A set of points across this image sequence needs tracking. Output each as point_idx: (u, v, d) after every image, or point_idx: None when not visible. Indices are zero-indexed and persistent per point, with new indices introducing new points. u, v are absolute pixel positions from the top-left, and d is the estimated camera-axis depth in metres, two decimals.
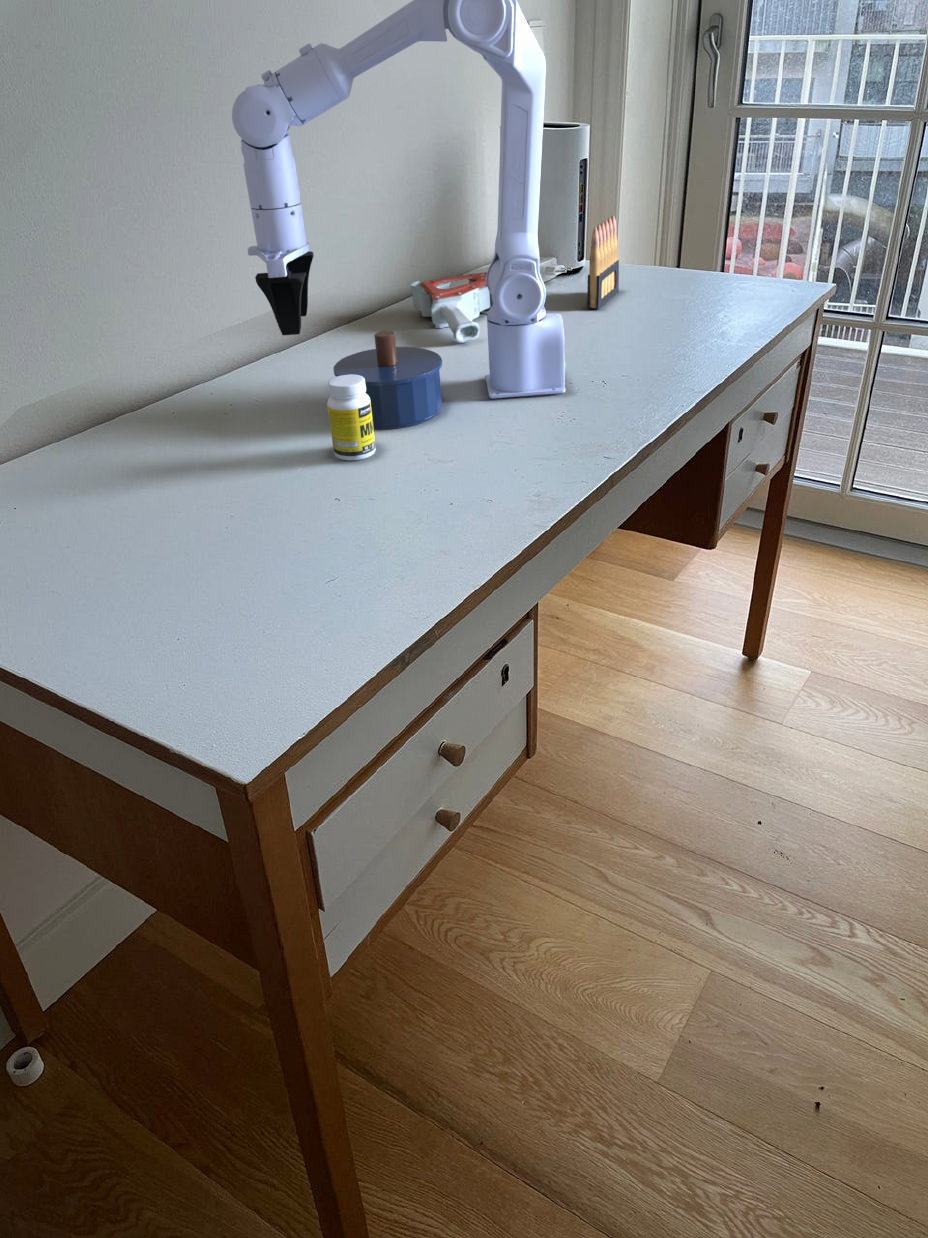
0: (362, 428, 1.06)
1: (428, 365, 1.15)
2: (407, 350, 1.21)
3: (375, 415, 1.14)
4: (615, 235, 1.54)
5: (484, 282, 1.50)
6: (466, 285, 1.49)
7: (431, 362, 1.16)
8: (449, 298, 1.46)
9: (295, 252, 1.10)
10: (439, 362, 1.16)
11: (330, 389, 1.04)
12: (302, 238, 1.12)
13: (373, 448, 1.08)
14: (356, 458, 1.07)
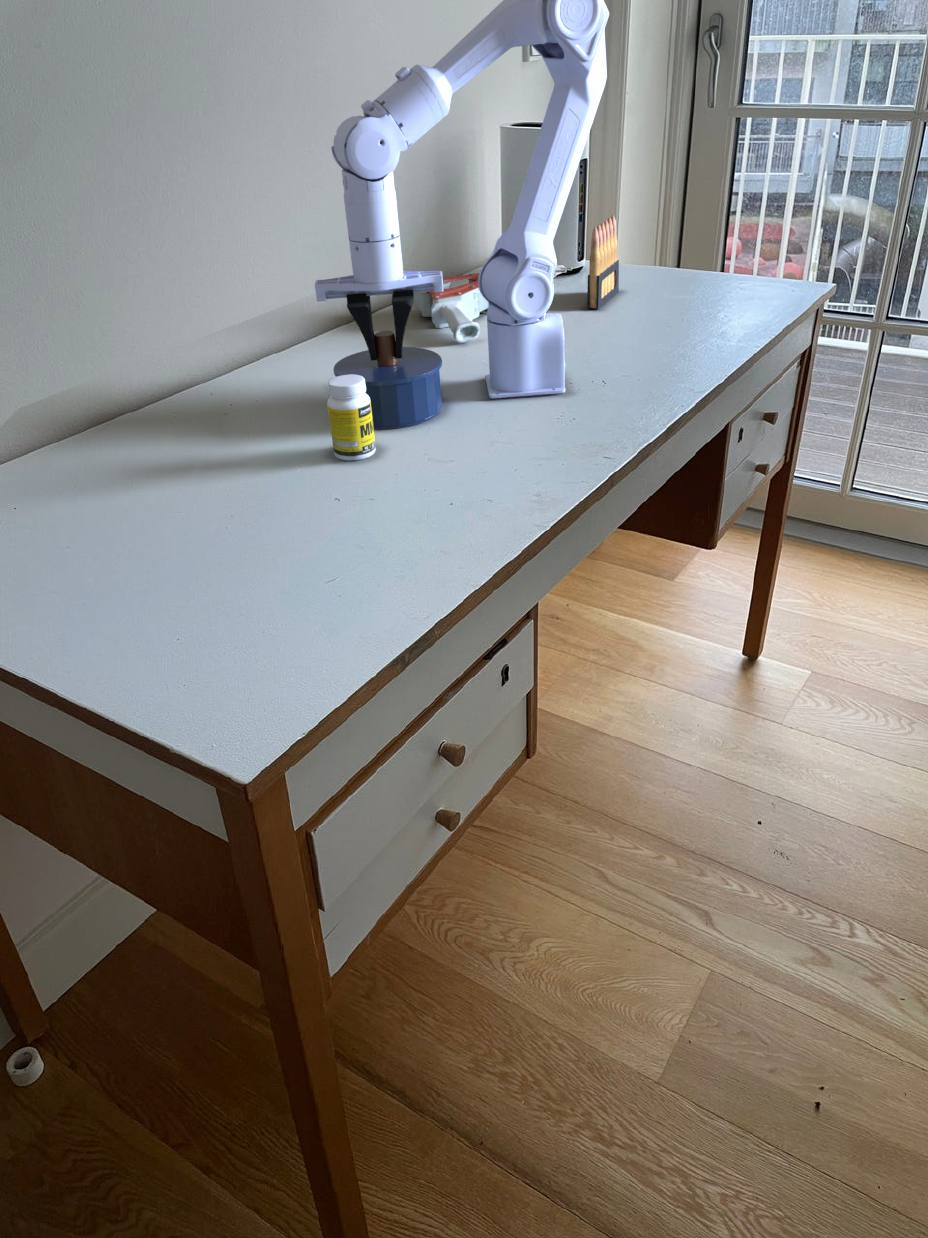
0: (362, 428, 1.06)
1: (428, 365, 1.15)
2: (407, 350, 1.21)
3: (375, 415, 1.14)
4: (615, 235, 1.54)
5: None
6: (466, 285, 1.49)
7: (431, 362, 1.16)
8: (449, 298, 1.46)
9: (345, 285, 1.10)
10: (439, 362, 1.16)
11: (330, 389, 1.04)
12: (366, 275, 1.09)
13: (373, 448, 1.08)
14: (356, 458, 1.07)
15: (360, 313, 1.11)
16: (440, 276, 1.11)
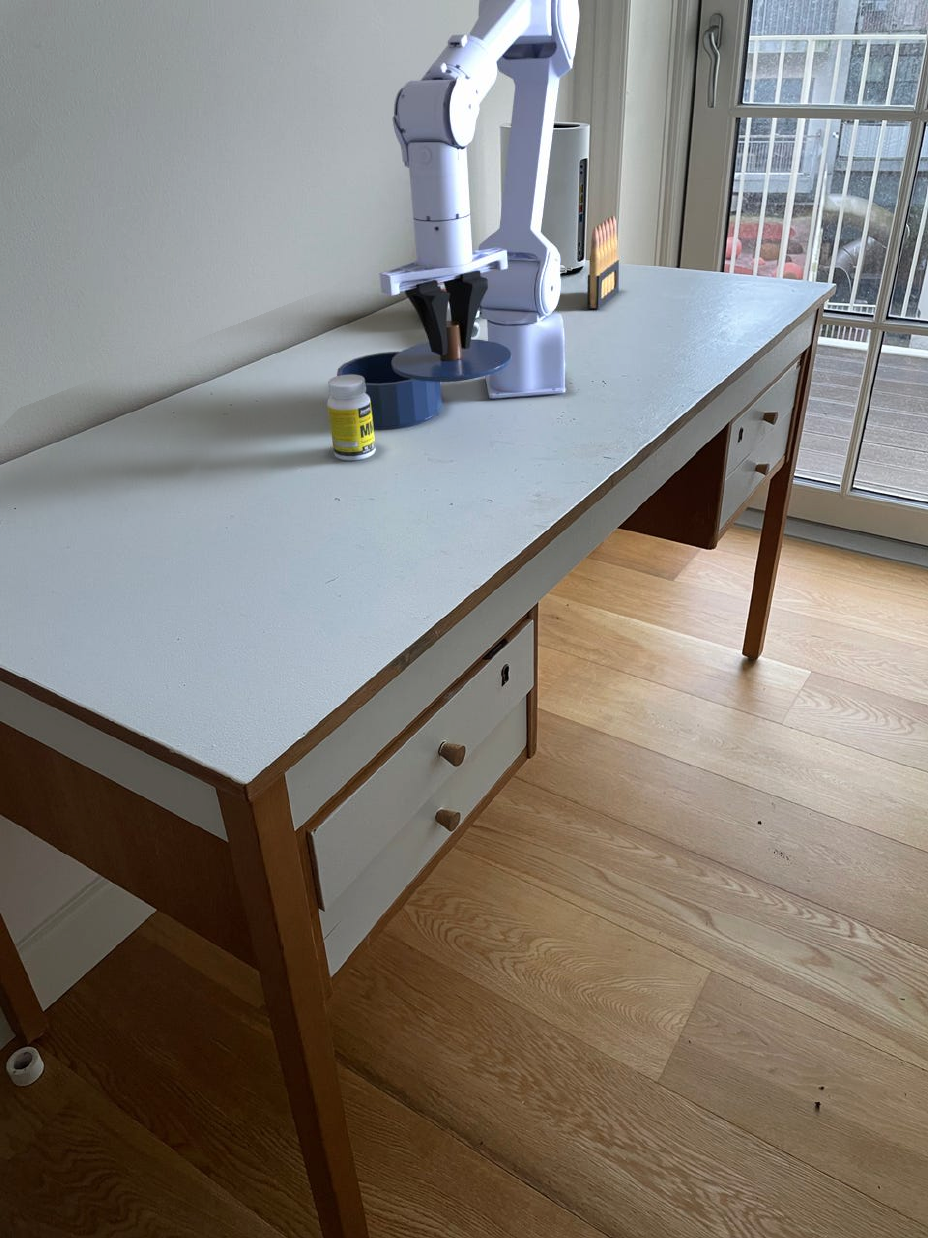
0: (362, 428, 1.06)
1: (497, 350, 1.07)
2: None
3: (375, 415, 1.14)
4: (615, 235, 1.54)
5: None
6: None
7: (495, 348, 1.07)
8: None
9: (424, 272, 0.97)
10: (503, 346, 1.08)
11: (330, 389, 1.04)
12: (448, 258, 0.98)
13: (373, 448, 1.08)
14: (356, 458, 1.07)
15: (440, 302, 0.99)
16: (505, 252, 1.03)
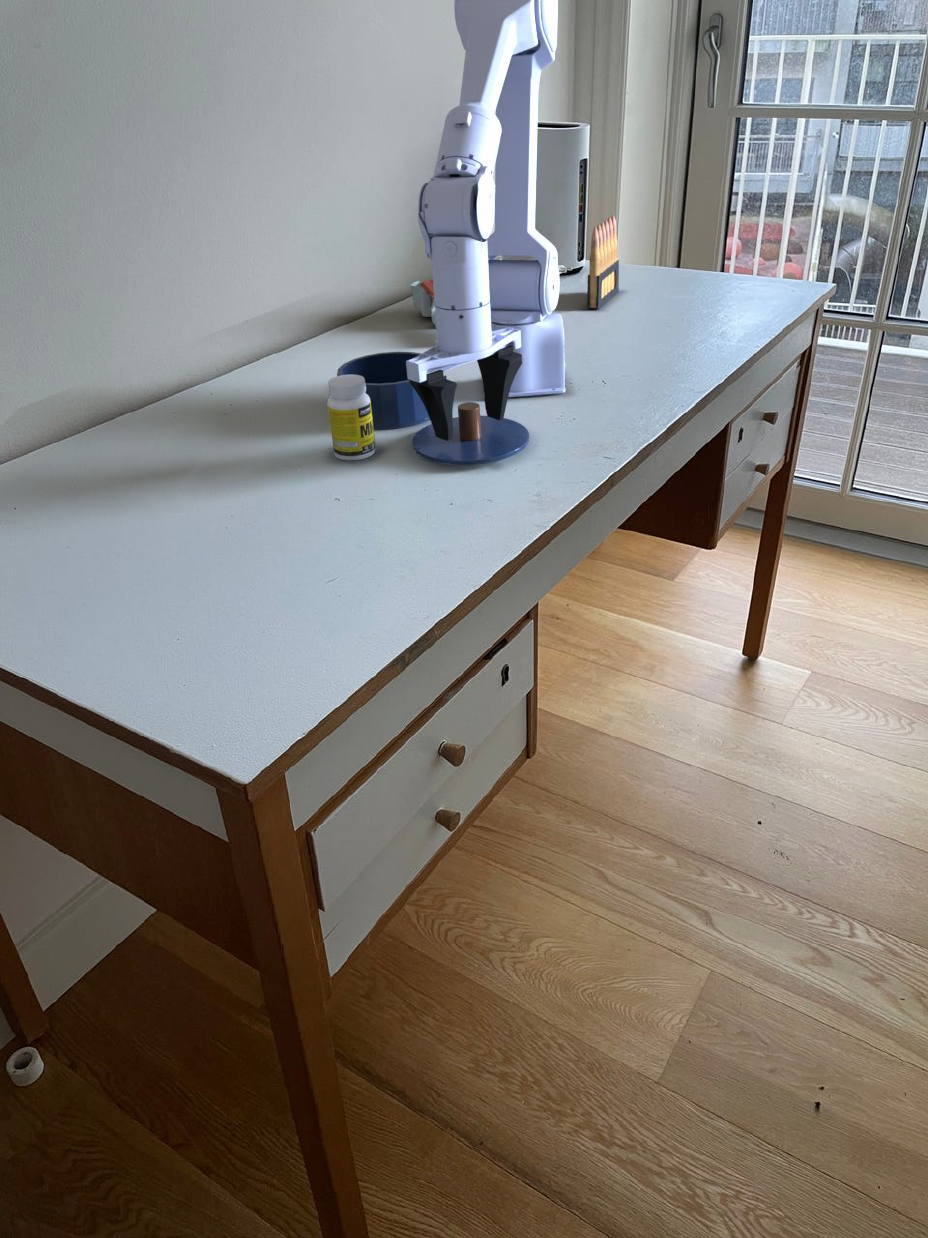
0: (362, 428, 1.06)
1: (514, 428, 1.10)
2: (459, 420, 1.13)
3: (375, 415, 1.14)
4: (615, 235, 1.54)
5: None
6: None
7: (510, 425, 1.11)
8: None
9: (450, 358, 1.00)
10: (517, 423, 1.11)
11: (330, 389, 1.04)
12: (472, 344, 1.00)
13: (373, 448, 1.08)
14: (356, 458, 1.07)
15: (448, 391, 1.01)
16: (519, 332, 1.06)
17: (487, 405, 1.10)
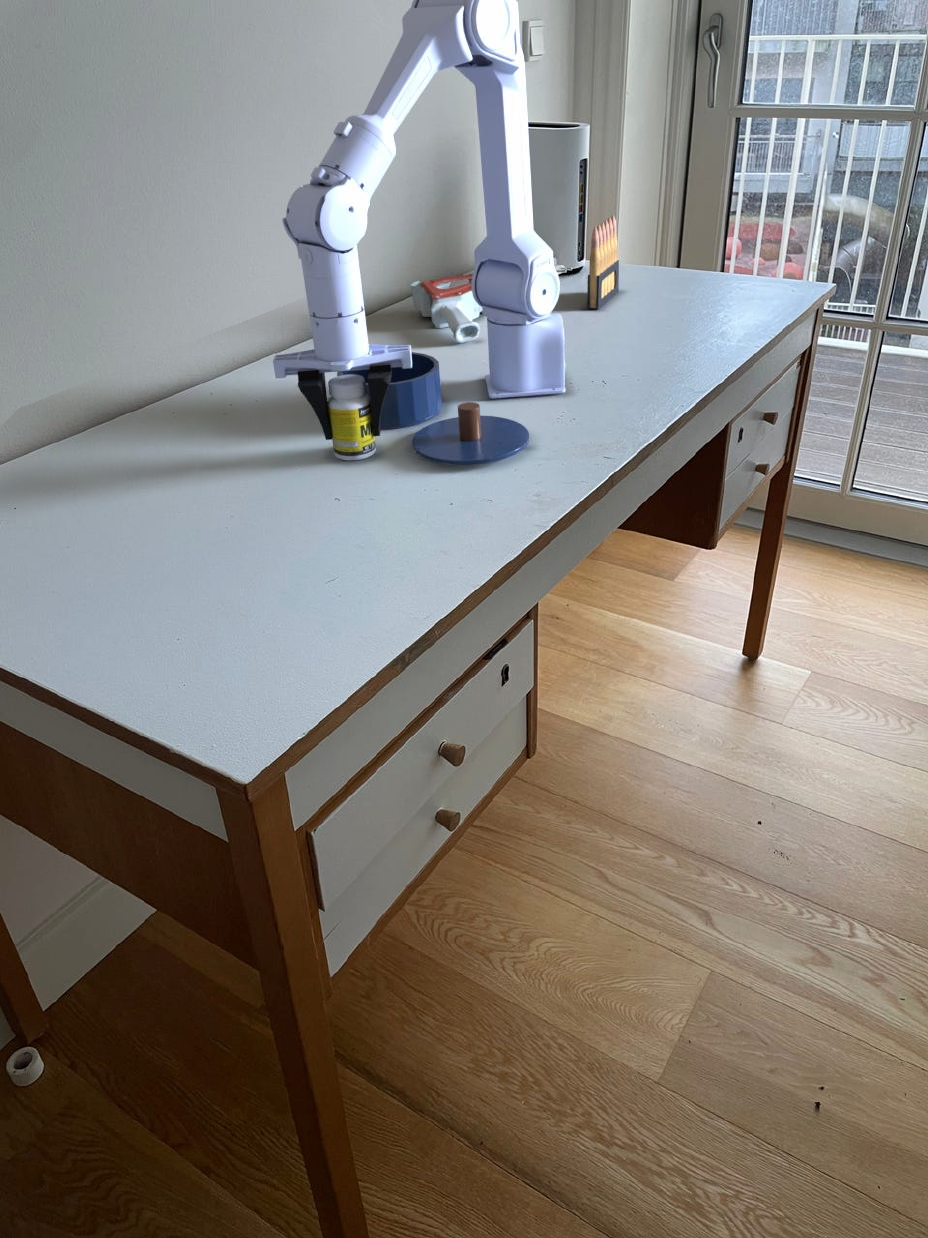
0: (362, 428, 1.06)
1: (514, 428, 1.10)
2: (459, 420, 1.13)
3: None
4: (615, 235, 1.54)
5: None
6: (466, 285, 1.49)
7: (510, 425, 1.11)
8: (449, 298, 1.46)
9: None
10: (517, 423, 1.11)
11: (330, 389, 1.04)
12: None
13: (373, 448, 1.08)
14: (356, 458, 1.07)
15: None
16: None
17: (330, 428, 1.07)
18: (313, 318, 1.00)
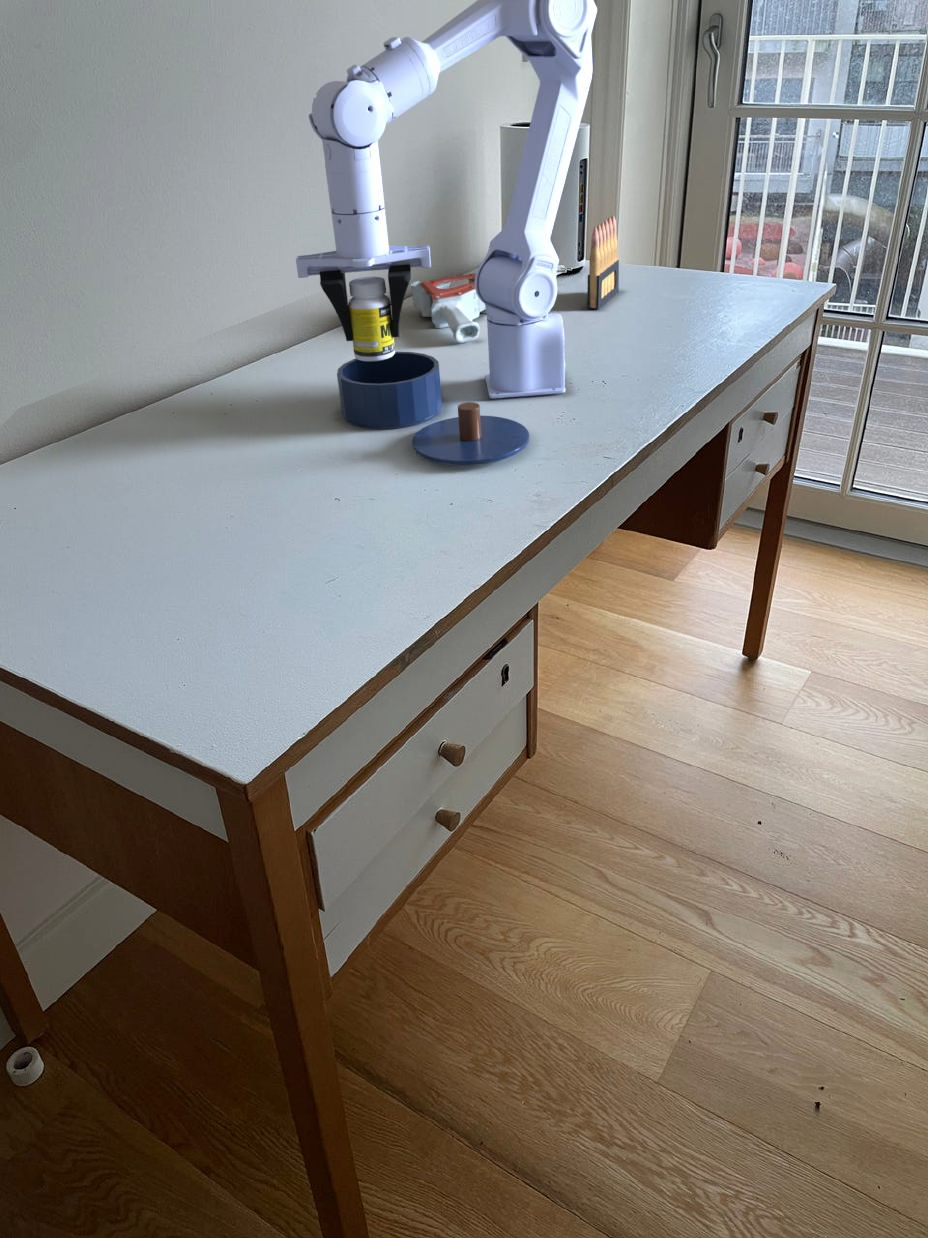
0: (382, 328, 1.09)
1: (514, 428, 1.10)
2: (459, 420, 1.13)
3: (375, 415, 1.14)
4: (615, 235, 1.54)
5: None
6: (466, 285, 1.49)
7: (510, 425, 1.11)
8: (449, 298, 1.46)
9: None
10: (517, 423, 1.11)
11: (351, 289, 1.07)
12: None
13: (393, 350, 1.11)
14: (376, 359, 1.10)
15: None
16: (299, 257, 1.07)
17: None
18: (335, 216, 1.03)
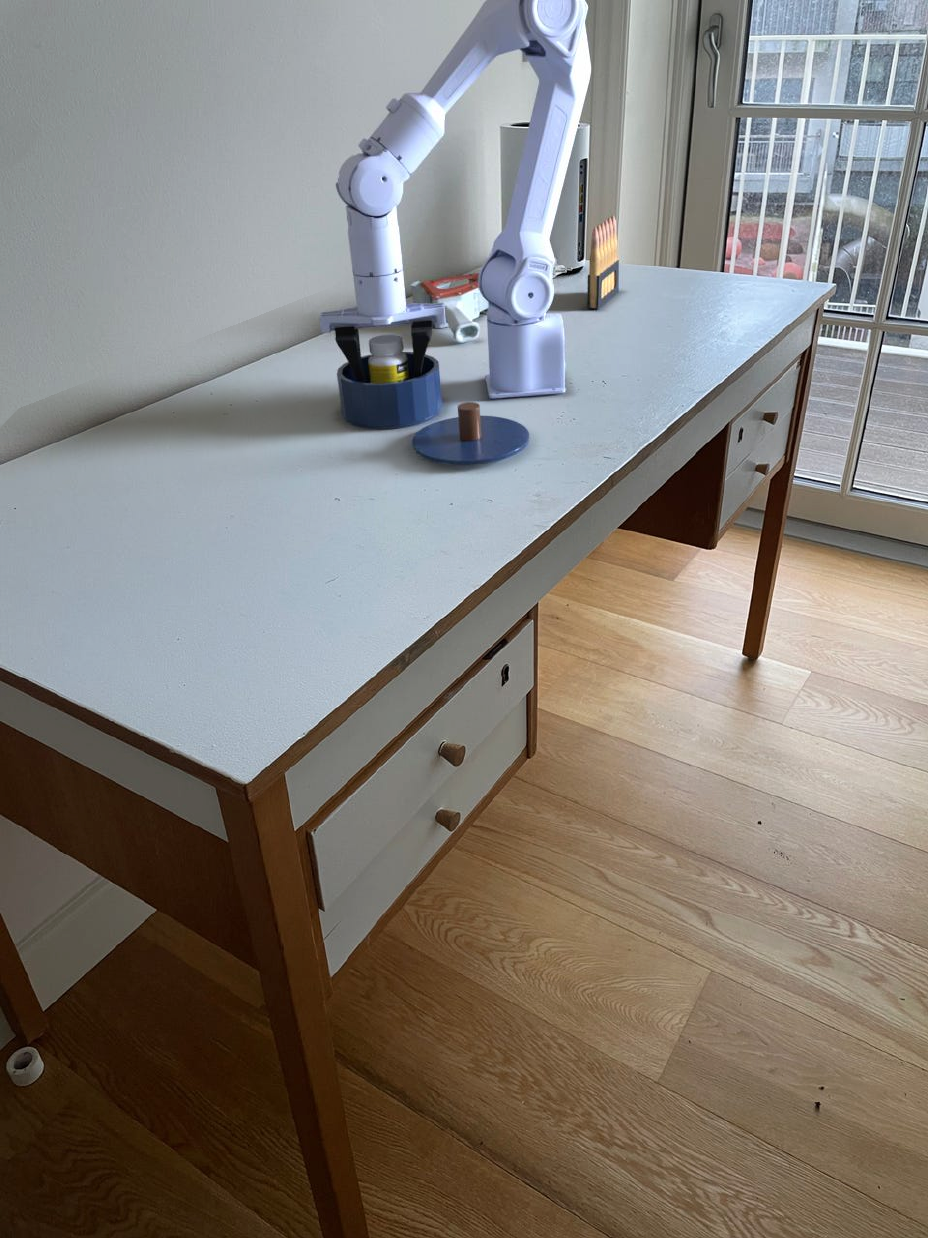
0: None
1: (514, 428, 1.10)
2: (459, 420, 1.13)
3: (375, 415, 1.14)
4: (615, 235, 1.54)
5: None
6: (466, 285, 1.49)
7: (510, 425, 1.11)
8: (449, 298, 1.46)
9: None
10: (517, 423, 1.11)
11: (371, 347, 1.15)
12: None
13: None
14: None
15: None
16: (322, 313, 1.14)
17: (363, 380, 1.17)
18: (357, 277, 1.10)
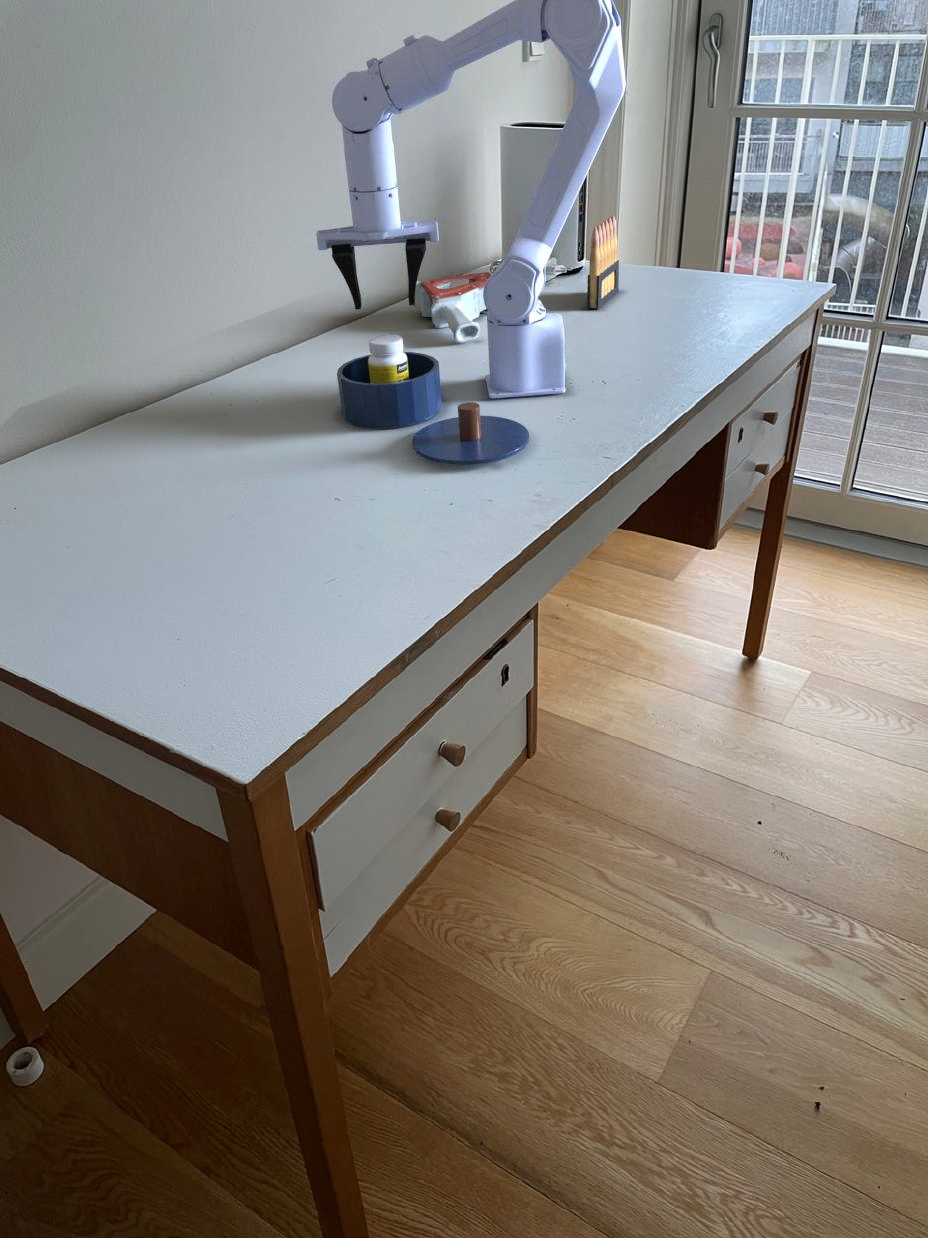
0: None
1: (514, 428, 1.10)
2: (459, 420, 1.13)
3: (375, 415, 1.14)
4: (615, 235, 1.54)
5: (484, 282, 1.50)
6: (466, 285, 1.49)
7: (510, 425, 1.11)
8: (449, 298, 1.46)
9: None
10: (517, 423, 1.11)
11: (371, 347, 1.15)
12: None
13: None
14: None
15: None
16: (319, 231, 1.18)
17: (359, 298, 1.21)
18: (353, 193, 1.13)
